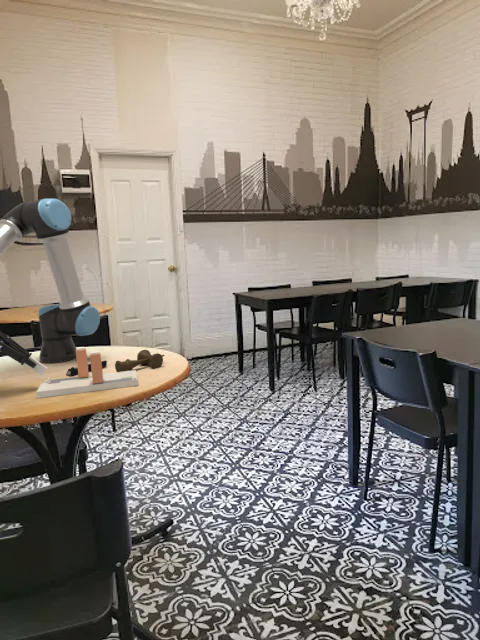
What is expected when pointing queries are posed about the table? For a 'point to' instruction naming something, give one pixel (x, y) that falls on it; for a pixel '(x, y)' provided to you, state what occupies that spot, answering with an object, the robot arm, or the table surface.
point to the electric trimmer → (74, 371)
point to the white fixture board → (86, 384)
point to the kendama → (140, 361)
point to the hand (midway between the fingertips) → (44, 371)
